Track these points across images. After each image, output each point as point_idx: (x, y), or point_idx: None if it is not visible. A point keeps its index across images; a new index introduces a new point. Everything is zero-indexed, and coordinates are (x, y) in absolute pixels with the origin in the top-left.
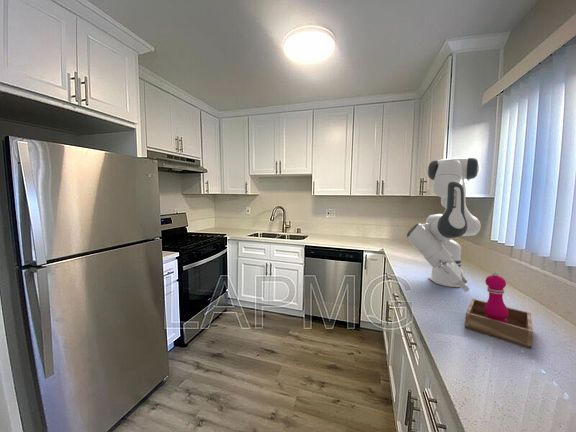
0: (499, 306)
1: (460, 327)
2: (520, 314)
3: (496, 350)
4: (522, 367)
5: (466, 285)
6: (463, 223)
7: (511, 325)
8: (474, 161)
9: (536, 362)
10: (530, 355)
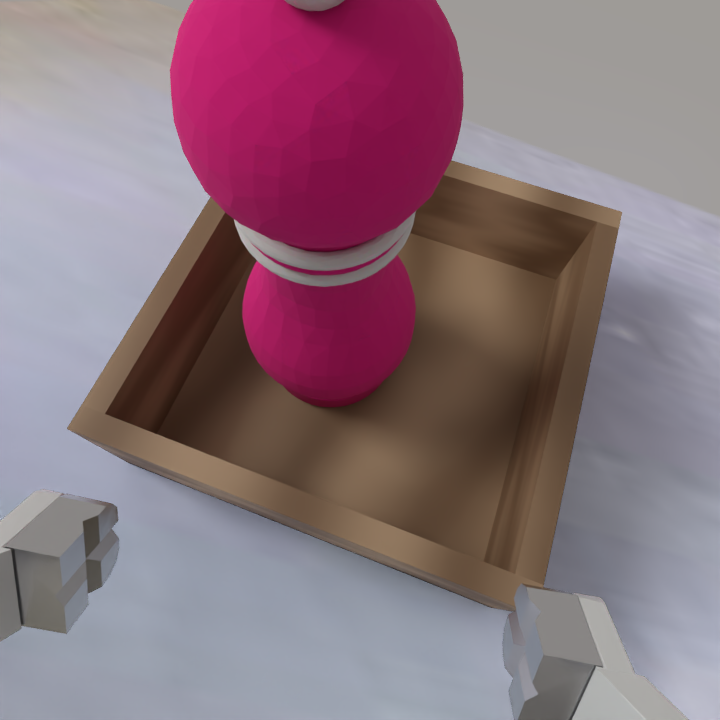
0: (400, 276)
1: (495, 640)
2: None
3: (716, 474)
4: None
5: (550, 639)
6: None
7: (599, 303)
8: None
9: (711, 312)
10: (649, 310)
